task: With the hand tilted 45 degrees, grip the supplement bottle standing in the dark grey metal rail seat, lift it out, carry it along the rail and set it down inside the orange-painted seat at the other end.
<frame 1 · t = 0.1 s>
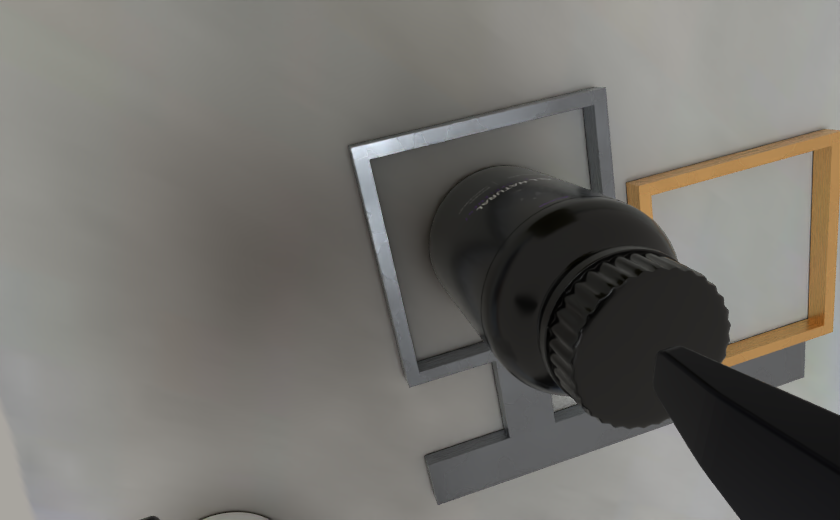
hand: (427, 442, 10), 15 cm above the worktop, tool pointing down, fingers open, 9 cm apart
supplement bottle: (494, 236, 26), resting in rail
rail: (730, 260, 29), on the worktop
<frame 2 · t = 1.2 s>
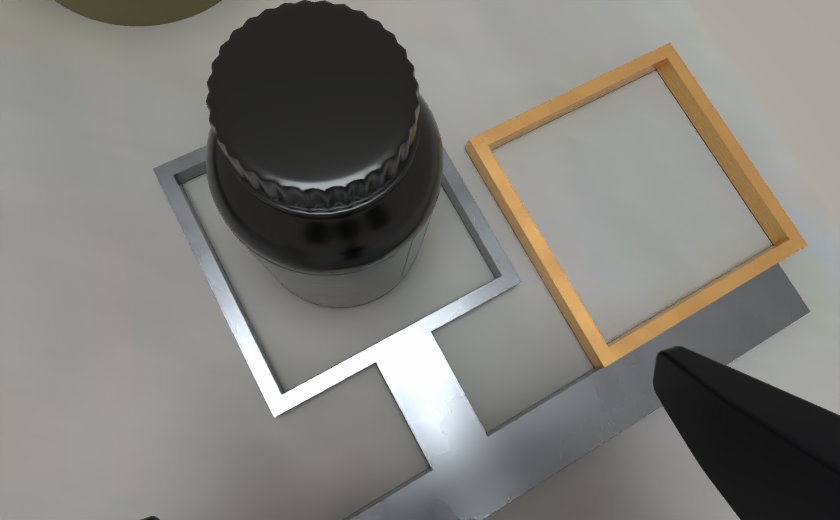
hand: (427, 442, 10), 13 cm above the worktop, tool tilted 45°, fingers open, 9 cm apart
supplement bottle: (340, 233, 24), resting in rail
rail: (629, 199, 26), on the worktop
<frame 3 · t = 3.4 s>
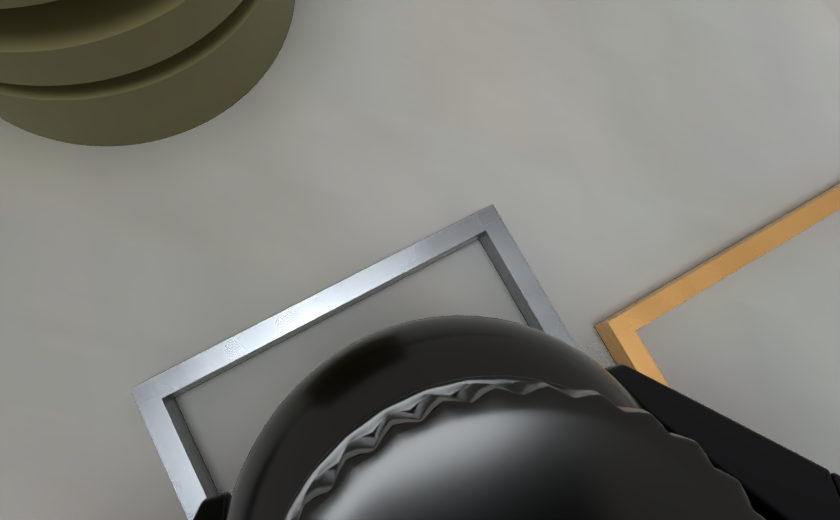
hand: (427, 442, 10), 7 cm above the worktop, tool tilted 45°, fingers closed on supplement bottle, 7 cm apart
supplement bottle: (415, 467, 16), resting in rail, touching gripper
rail: (833, 399, 18), on the worktop
when the fingers open (8 cm above the worktop, at t = 8.5 s): supplement bottle drops 1 cm, resting in rail.
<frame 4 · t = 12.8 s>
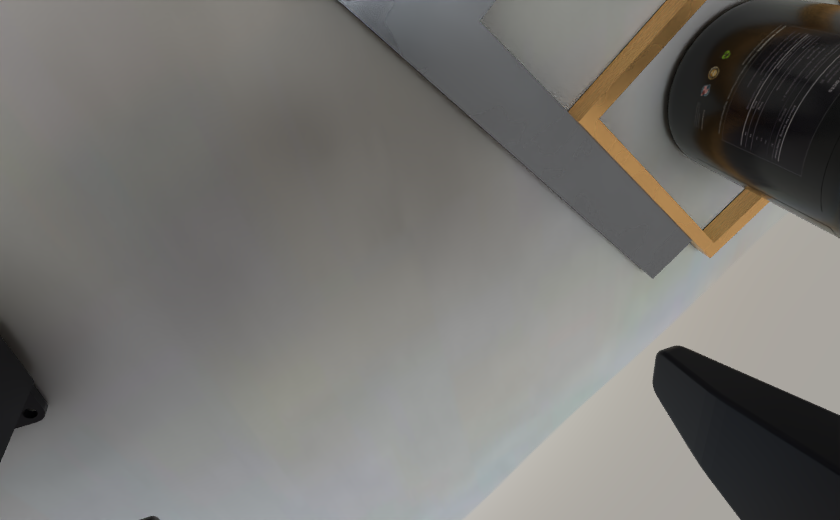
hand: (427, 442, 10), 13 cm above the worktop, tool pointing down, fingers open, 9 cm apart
supplement bottle: (728, 81, 24), resting in rail
rail: (736, 88, 24), on the worktop
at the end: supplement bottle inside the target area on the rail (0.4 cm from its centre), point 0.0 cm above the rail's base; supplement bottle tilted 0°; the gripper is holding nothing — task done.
